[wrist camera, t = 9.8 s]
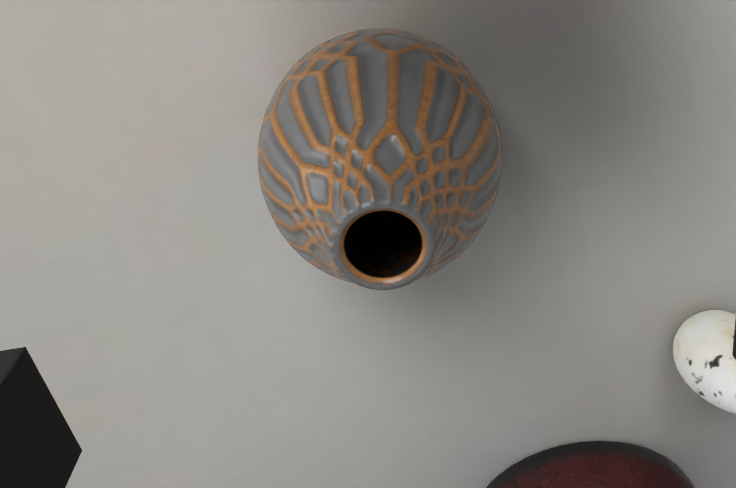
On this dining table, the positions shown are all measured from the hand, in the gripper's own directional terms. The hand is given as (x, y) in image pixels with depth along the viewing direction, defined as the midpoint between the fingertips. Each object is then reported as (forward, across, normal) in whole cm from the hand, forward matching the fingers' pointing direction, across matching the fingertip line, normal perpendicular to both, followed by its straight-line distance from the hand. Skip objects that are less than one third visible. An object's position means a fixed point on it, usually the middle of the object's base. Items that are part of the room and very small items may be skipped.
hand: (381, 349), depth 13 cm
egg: (+12, +11, -11) cm, 20 cm away
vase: (+12, 0, 0) cm, 12 cm away
